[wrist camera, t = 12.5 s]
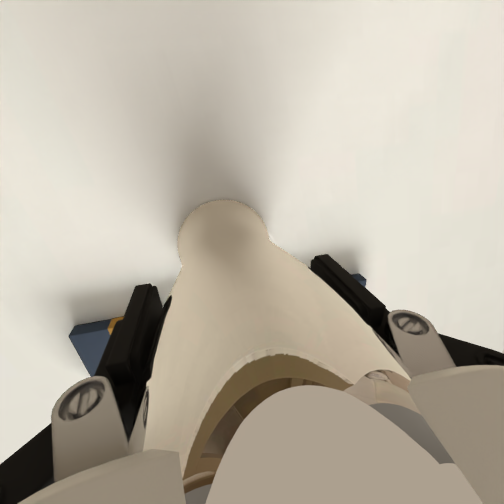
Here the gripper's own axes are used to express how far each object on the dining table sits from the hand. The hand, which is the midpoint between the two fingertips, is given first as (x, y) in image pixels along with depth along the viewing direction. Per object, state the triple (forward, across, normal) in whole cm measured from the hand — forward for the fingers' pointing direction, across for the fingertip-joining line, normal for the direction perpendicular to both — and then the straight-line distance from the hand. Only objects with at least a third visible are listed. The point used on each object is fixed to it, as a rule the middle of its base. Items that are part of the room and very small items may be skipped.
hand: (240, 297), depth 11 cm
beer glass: (+6, 0, 0) cm, 6 cm away
